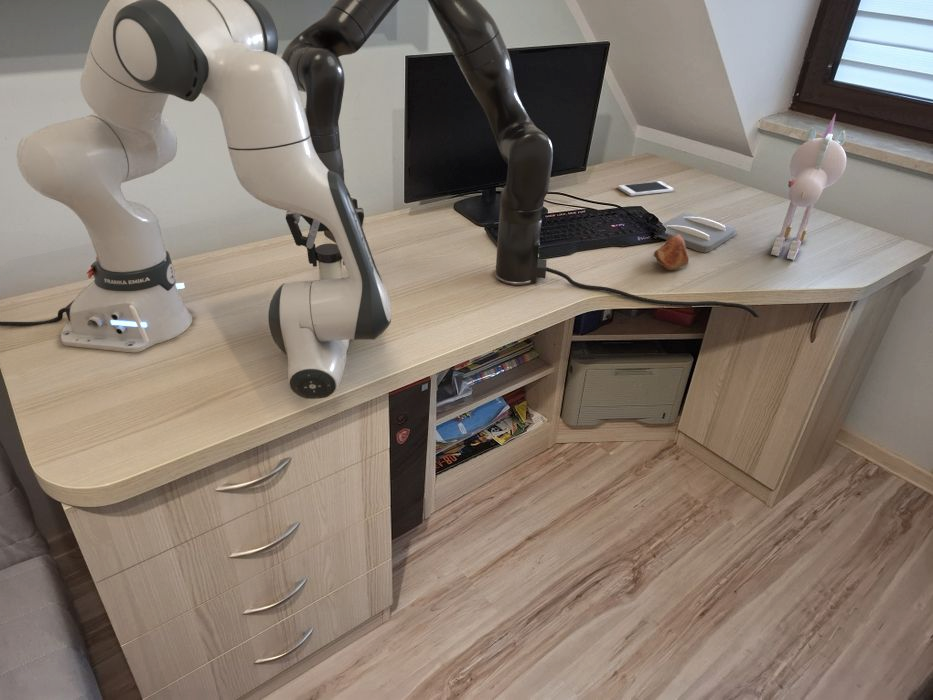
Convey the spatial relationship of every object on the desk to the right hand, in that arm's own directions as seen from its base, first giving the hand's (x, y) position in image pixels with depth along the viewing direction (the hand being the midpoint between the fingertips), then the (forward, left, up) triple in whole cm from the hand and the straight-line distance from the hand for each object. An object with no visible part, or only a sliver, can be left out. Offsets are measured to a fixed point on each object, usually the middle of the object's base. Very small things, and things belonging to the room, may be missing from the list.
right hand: (329, 263), depth 118 cm
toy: (-105, -61, -13) cm, 122 cm away
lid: (0, 0, +3) cm, 3 cm away
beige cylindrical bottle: (0, 0, -13) cm, 13 cm away
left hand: (0, -1, -7) cm, 7 cm away
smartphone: (-71, -92, -13) cm, 117 cm away
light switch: (-80, -59, -13) cm, 100 cm away
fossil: (-70, -39, -13) cm, 81 cm away
